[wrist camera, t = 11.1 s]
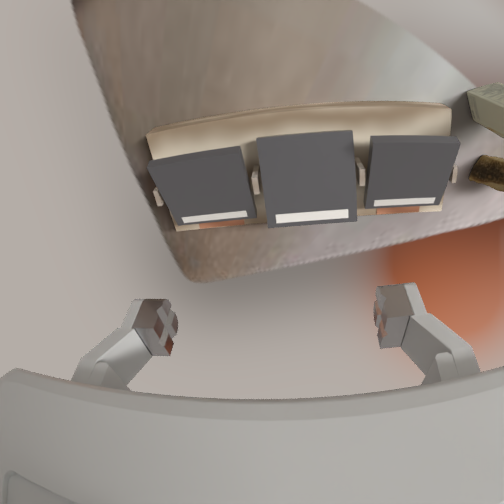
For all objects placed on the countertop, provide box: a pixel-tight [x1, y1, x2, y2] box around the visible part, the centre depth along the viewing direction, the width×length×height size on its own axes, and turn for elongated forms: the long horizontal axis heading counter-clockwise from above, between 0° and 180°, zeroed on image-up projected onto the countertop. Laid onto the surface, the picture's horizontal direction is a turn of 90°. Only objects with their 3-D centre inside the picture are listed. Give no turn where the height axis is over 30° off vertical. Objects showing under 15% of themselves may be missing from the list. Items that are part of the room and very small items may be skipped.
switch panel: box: [146, 101, 458, 231], centre depth 36 cm, size 14×36×6 cm, turn 99°
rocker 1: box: [147, 146, 257, 226], centre depth 35 cm, size 10×10×1 cm
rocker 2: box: [363, 135, 460, 209], centre depth 31 cm, size 10×10×1 cm
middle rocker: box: [256, 130, 357, 228], centre depth 33 cm, size 10×10×1 cm
